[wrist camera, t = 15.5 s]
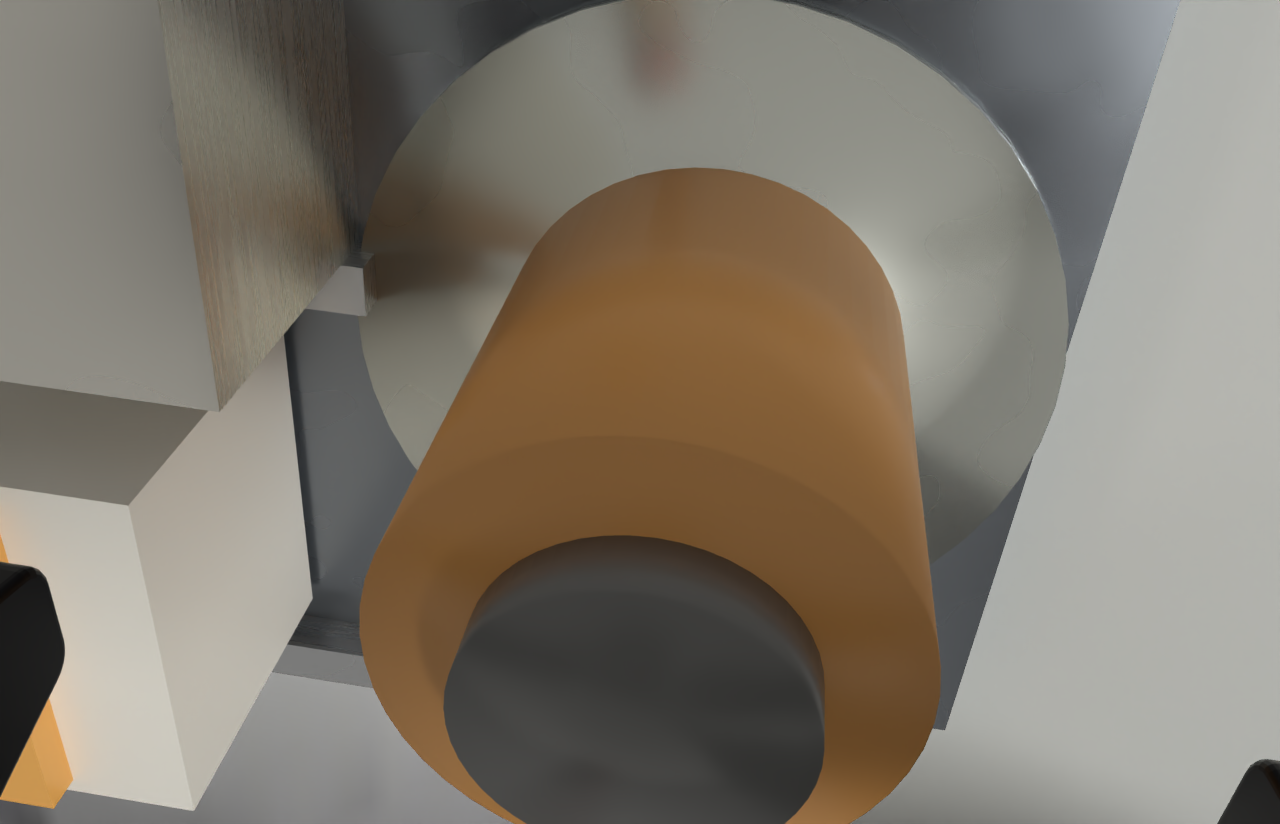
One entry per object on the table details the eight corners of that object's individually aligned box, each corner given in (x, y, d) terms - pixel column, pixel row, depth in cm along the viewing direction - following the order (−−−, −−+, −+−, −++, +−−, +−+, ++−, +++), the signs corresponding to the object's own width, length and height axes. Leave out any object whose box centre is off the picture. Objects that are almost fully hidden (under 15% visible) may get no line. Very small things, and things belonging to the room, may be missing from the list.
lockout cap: (943, 195, 12) (1020, 545, 7) (864, 538, 14) (881, 966, 9) (509, 143, 12) (305, 443, 7) (505, 487, 14) (351, 875, 10)
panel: (1188, -155, 11) (1396, -58, 7) (933, 681, 17) (965, 989, 13) (-872, -357, 13) (-1665, -371, 9) (-425, 473, 19) (-764, 690, 15)
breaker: (282, 322, 14) (104, 532, 10) (312, 598, 16) (177, 840, 13) (-37, 279, 14) (-308, 470, 11) (40, 556, 16) (-161, 782, 13)
